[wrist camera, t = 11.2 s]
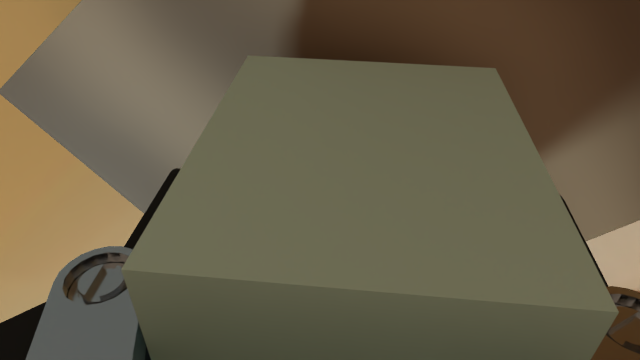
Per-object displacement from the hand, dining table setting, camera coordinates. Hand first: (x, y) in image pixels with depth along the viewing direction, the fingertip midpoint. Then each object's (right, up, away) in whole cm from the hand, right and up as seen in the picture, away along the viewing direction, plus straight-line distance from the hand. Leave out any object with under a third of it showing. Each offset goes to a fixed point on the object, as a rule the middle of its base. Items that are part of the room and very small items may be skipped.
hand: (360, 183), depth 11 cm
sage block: (0, 0, +1) cm, 1 cm away
